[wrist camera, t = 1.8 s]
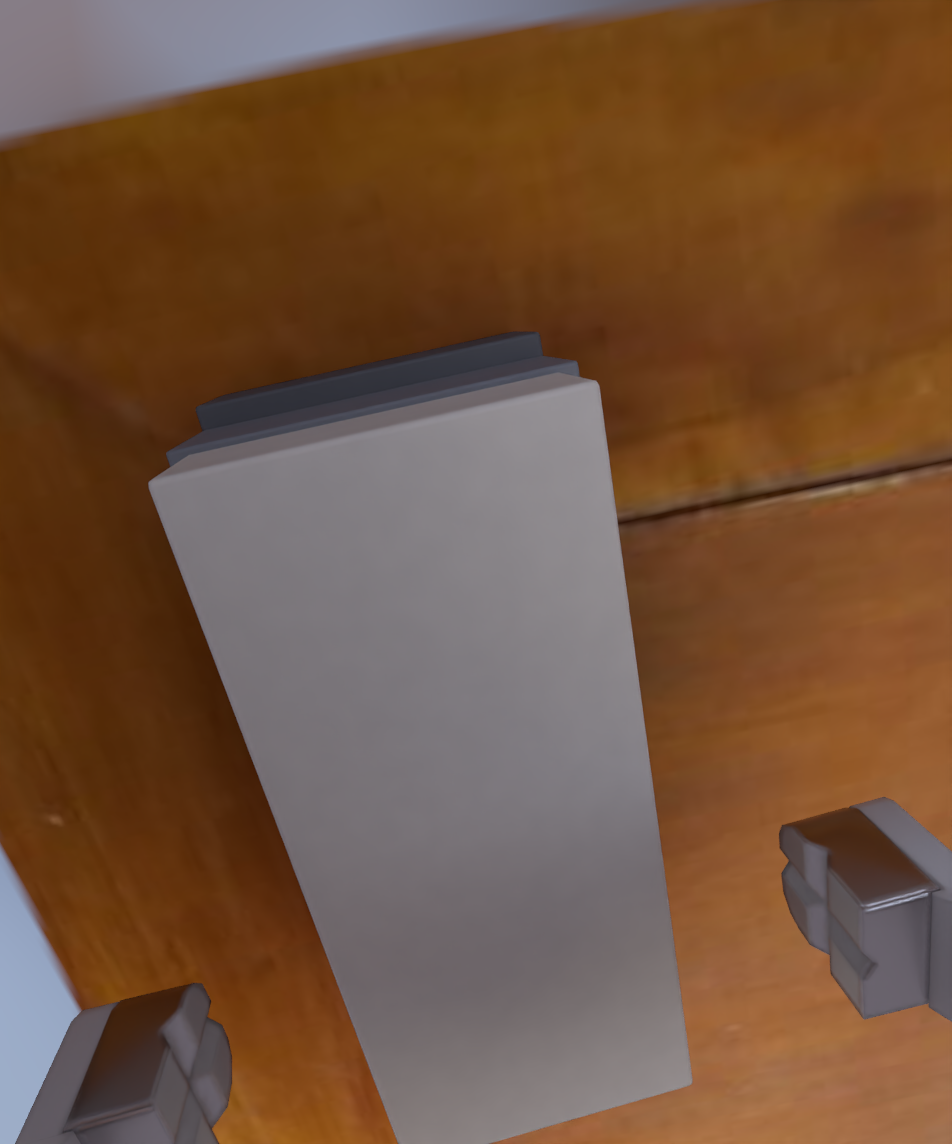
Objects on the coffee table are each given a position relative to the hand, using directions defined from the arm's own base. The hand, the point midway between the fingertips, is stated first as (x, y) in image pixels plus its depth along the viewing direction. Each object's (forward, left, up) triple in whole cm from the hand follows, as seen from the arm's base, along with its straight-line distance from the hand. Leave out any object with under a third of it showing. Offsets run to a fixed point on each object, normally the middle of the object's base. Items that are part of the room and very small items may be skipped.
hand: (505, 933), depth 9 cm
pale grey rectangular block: (0, 0, -3) cm, 3 cm away
